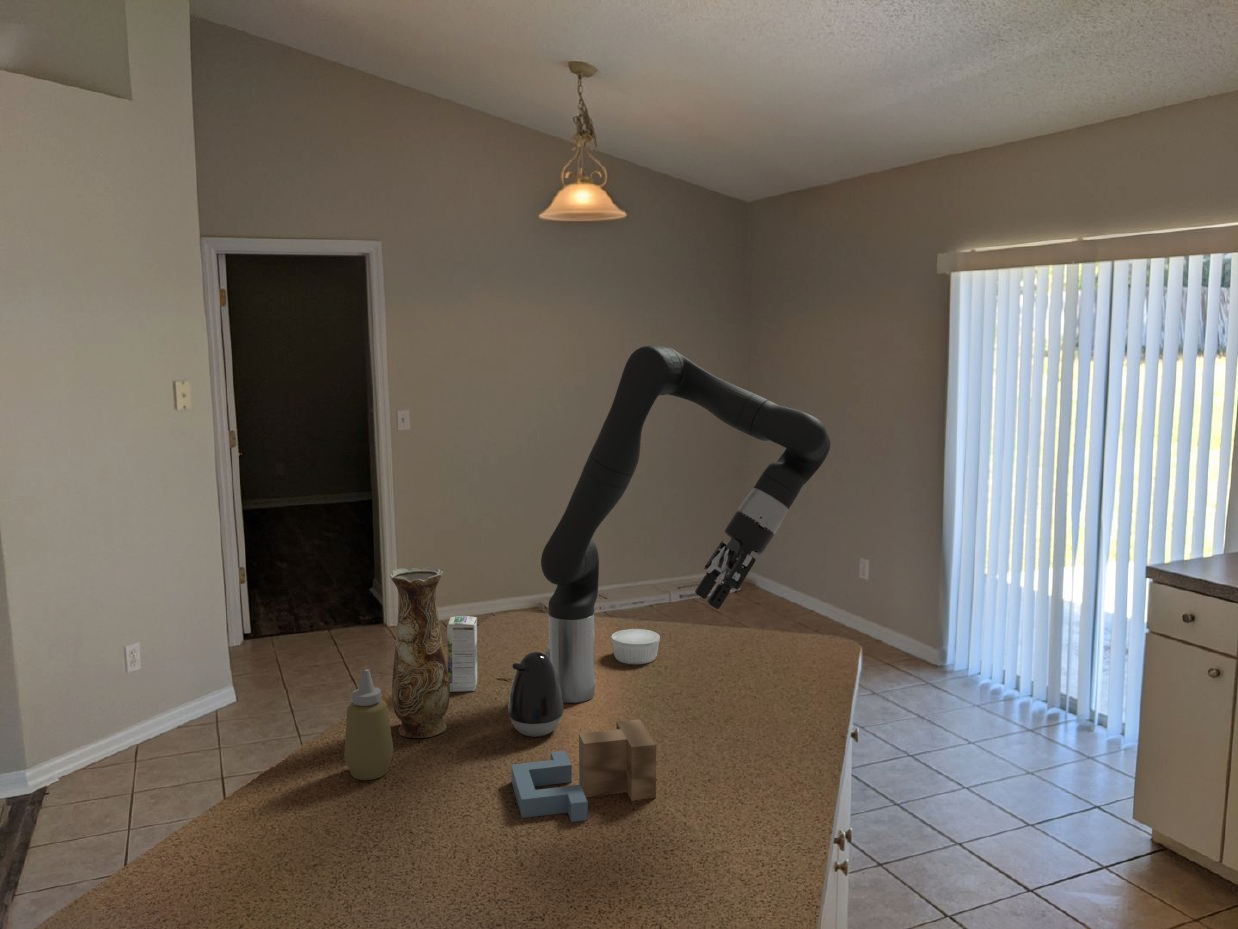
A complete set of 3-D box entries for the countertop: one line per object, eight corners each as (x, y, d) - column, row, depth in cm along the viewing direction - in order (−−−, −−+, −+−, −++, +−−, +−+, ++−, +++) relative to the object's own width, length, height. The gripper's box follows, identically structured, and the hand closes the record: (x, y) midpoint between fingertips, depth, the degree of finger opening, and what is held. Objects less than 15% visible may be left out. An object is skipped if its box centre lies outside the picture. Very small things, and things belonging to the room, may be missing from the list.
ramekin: (614, 649, 219) (614, 627, 218) (662, 651, 217) (662, 629, 216) (607, 665, 208) (607, 642, 207) (657, 668, 206) (657, 645, 205)
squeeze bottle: (403, 766, 159) (400, 665, 156) (376, 788, 151) (372, 682, 149) (363, 759, 161) (359, 659, 159) (334, 780, 154) (330, 676, 151)
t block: (639, 770, 157) (639, 719, 156) (655, 798, 148) (656, 744, 147) (575, 777, 155) (575, 726, 154) (588, 806, 145) (588, 752, 144)
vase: (399, 744, 167) (393, 582, 163) (388, 722, 177) (383, 568, 173) (456, 734, 171) (452, 576, 167) (443, 713, 181) (438, 563, 177)
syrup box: (450, 682, 197) (448, 616, 195) (478, 681, 198) (476, 615, 196) (447, 692, 192) (445, 624, 190) (476, 691, 192) (475, 623, 190)
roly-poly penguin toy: (496, 732, 173) (494, 653, 170) (538, 715, 180) (537, 639, 178) (533, 748, 166) (532, 666, 164) (575, 730, 173) (574, 651, 171)
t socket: (565, 767, 158) (565, 750, 158) (587, 820, 141) (587, 801, 141) (509, 773, 156) (508, 756, 156) (524, 828, 139) (524, 809, 138)
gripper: (727, 505, 165) (678, 582, 165) (751, 513, 151) (698, 597, 151) (761, 527, 167) (712, 604, 166) (788, 537, 153) (735, 621, 152)
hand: (705, 601), depth 158 cm, fingers open, 8 cm apart
